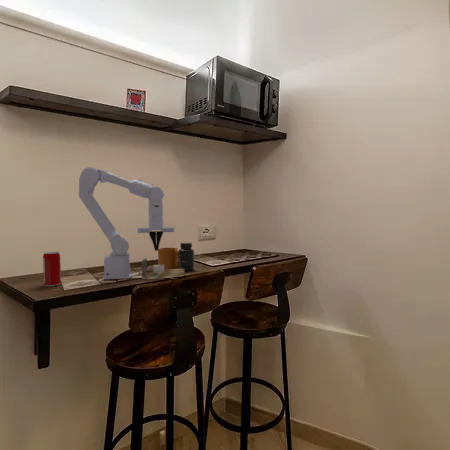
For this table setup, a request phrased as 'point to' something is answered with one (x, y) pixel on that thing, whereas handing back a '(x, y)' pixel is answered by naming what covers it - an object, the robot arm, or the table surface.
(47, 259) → the soda can
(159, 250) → the mug
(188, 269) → the supplement bottle
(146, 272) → the gauge bed
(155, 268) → the carriage
